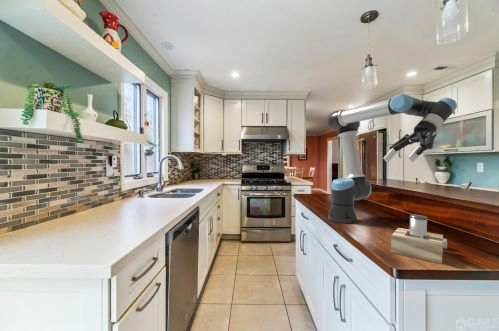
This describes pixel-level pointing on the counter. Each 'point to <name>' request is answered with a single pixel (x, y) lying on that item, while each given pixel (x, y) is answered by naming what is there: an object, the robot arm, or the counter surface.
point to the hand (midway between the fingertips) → (397, 160)
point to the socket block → (417, 245)
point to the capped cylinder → (418, 226)
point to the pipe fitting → (444, 243)
